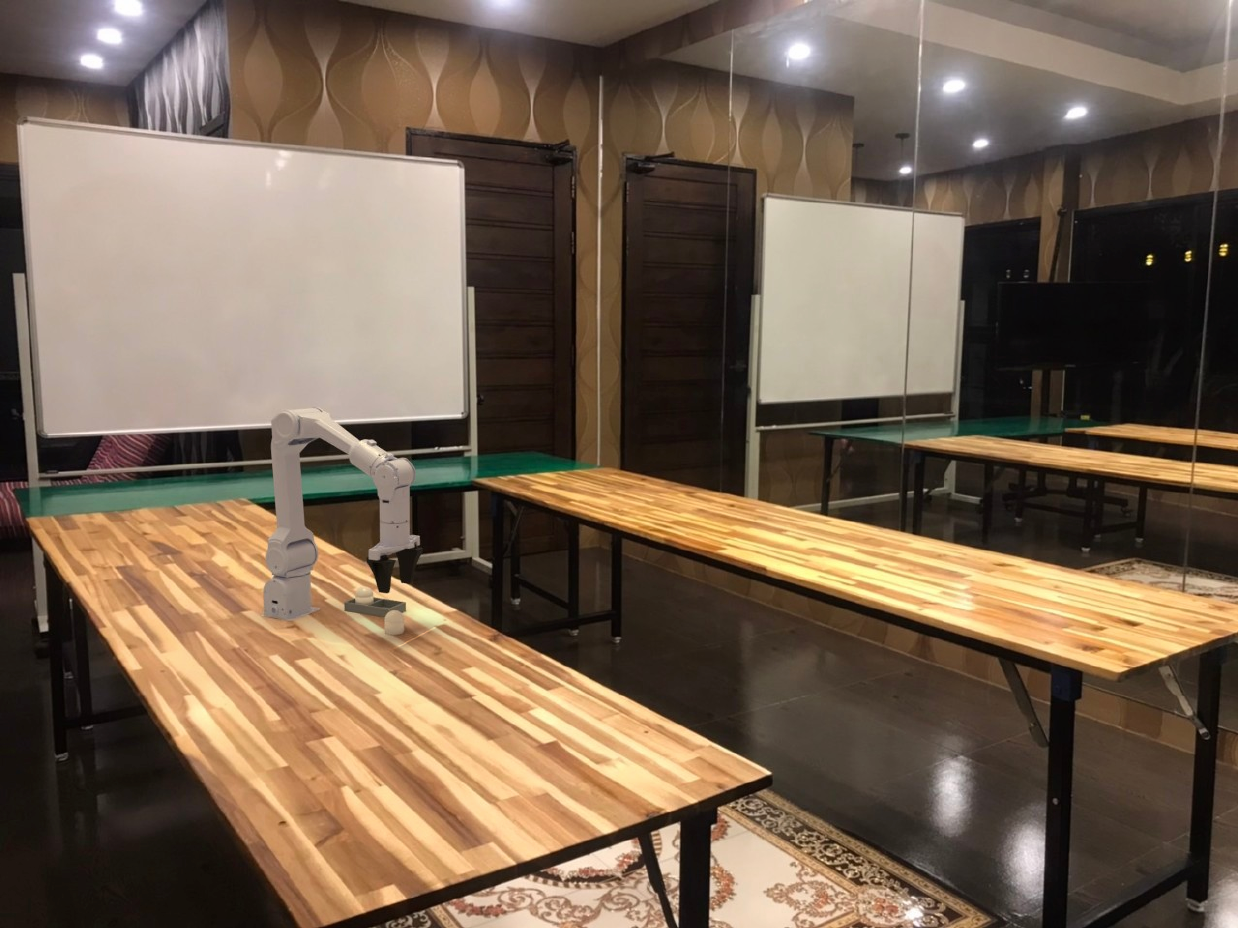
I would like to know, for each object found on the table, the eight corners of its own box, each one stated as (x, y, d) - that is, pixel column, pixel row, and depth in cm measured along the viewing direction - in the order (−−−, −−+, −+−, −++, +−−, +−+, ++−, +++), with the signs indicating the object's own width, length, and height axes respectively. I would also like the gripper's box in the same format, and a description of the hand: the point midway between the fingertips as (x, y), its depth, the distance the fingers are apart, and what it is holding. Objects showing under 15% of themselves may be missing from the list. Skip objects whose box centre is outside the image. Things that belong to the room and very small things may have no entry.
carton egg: (366, 612, 199) (366, 589, 198) (351, 609, 200) (351, 587, 199) (377, 607, 202) (377, 585, 201) (362, 605, 204) (362, 583, 203)
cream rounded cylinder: (396, 638, 184) (396, 614, 183) (380, 635, 186) (380, 611, 185) (407, 632, 188) (407, 609, 187) (392, 629, 189) (391, 606, 188)
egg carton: (389, 619, 195) (389, 609, 195) (344, 612, 200) (344, 602, 199) (405, 612, 201) (405, 602, 200) (361, 605, 205) (361, 595, 205)
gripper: (390, 529, 175) (391, 599, 177) (432, 516, 189) (432, 581, 191) (359, 525, 178) (360, 594, 180) (402, 512, 191) (403, 577, 193)
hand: (395, 587), depth 186 cm, fingers open, 7 cm apart
